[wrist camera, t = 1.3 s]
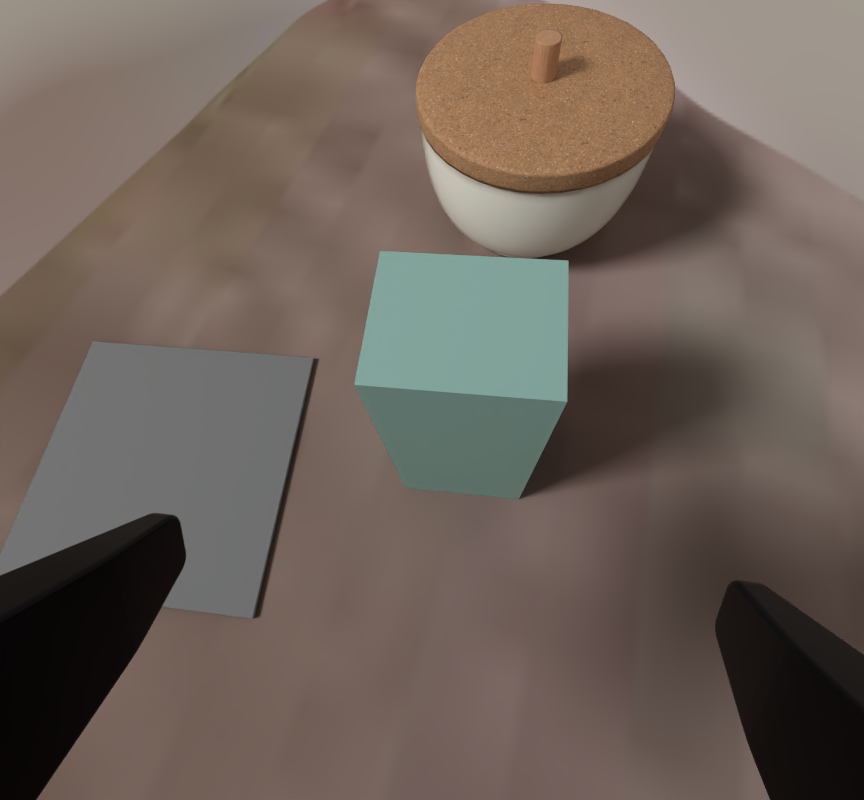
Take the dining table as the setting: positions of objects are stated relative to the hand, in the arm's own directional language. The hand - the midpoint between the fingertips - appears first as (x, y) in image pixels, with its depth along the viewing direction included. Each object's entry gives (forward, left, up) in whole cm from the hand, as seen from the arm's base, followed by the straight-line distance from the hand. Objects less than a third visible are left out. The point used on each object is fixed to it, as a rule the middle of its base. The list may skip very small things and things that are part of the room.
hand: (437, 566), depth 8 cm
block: (+6, 0, -13) cm, 14 cm away
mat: (+4, +14, -13) cm, 20 cm away
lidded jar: (+20, -2, -13) cm, 24 cm away
